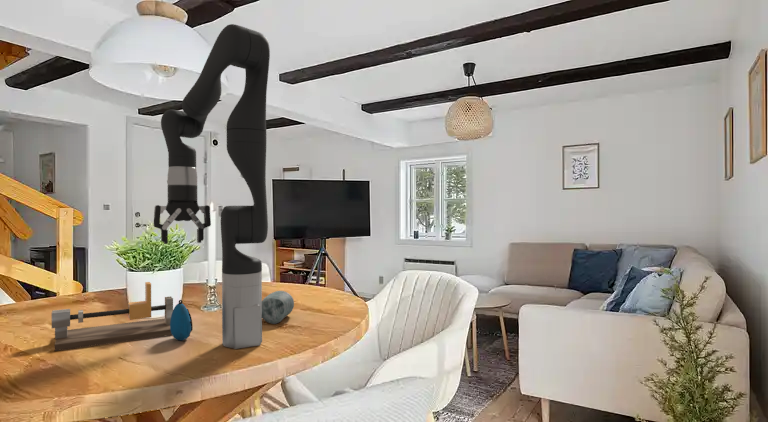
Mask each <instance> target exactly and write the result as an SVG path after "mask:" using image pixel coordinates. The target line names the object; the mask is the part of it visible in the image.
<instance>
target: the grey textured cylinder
mask: <svg viewBox="0 0 768 422" xmlns="http://www.w3.org/2000/svg"><path fill="white" fill-rule="evenodd" d="M294 307H295V301H294V298H293V296H292V295H291V294H290V293H289V292H287V291H284V290H276V291H273V292H271V293H269V294H268V295H266V296H265V297H264V298H262V320H264V321H265V322H266V323H268V324H271V325H277V324H279V323H280V322H282V321H283V320H284V318H286V317H287V316H289V315H290V314H291V313H292V311H293V310H294Z"/></svg>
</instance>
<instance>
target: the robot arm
mask: <svg viewBox="0 0 768 422" xmlns="http://www.w3.org/2000/svg"><path fill="white" fill-rule="evenodd" d="M270 48H271V47H270V42H269V40H268V38H267V37H266V35H264V33H262V32H260V31H257V30H254V29H250V28H248V27H245V26H242V25H238V24H234V23H233V24H232V23H231V24H227V25H226V26H225V27H224V28H223V29H222V30H221V31H220V33H219V34H218V36H217V37H216V39H215V42H214V44H213V46H212V48H211V50H210V52H209V55H208V56H207V59H206V60H205V63H204V65H203V68H202V70H201V72H200V75H199V76H198V78H197V80H196V81H195V83H194V84H193V86H192V87H190V90H189V91H188V92H187V94H186V95H185V96H184V98H183V100H182V102H181V108H182V110H179V109H173V108H172V109H167V110H165V111H164V113H163V114H162V116H161V119H160V127H161V131H162V133H163V137H164V141H165V144H166V149H167V154H168V157H167V161H168V165H167V166H168V170H167V180H166V182H167V204H166V205H159V204H157V205H155V206H154V212H153V213H154V214H153V227H154V228H157V229H160V236H161V237H160V239H161V242H162V243H163V244H164V245H168V244H169V243H168V241H169V240H168V238H169V235H168V234H169V232H168V231H169V230H168V227H170V225H172V223H174V221H176V222H182V221H185V222H189V221H191V222H192V223H194V225H195V226H196V227H197V229H196V241H197V243H198V244H201V243H202V241H204V237H205V235H204V234H205V231H204V230H205V229H206V228H209V227H211V226H212V223H211V222H212V221H211V207H210V205H199V203H198V172H197V151H196V148H194V146H190V145H187V144H186V143H184V142H183V140H182V139H181V138H185V139H186V138H187V139H196V138H197V137H199V136H200V135H201V134H202V132H203V131H204V128H205V124H206V121H207V118H208V116H209V114H210V113H211V112H212V110H213V109H214V108H215V107H216V106H217V104H218V103H219V101H220V99H221V96H222V74H223V72H224V71H225V70H226V69H227V68H229V66H232V67H235V68H238V69H239V68H240V69H244V70H245V79H244V80H245V81H244V83H245V84H244V88H243V92H242V94H241V97H240V98H239V100H238V102H236V104H235V106H234V108H233V109H232V111H231V113H230V115H229V117H228V118H227V122H226V150H227V153H228V157H229V158H230V160H231V161H232V163H233V165H234V166H235V167H236V169H237V170H238V172H239V173H240V175H241V176H242V178H243V179H244V182H245V183H246V185H247V187H248V188H249V191H250V194H251V197H252V201H253V205H226V206H224V207H223V209H221V212H220V213H221V214H220V235H221V238H220V239H221V250H222V251H221V252H222V253H221V254H222V255H221V257H222V258H221V300H222V301H221V319H222V321H221V323H222V325H221V326H222V327H221V328H222V329H221V330H222V332H221V333H222V334H221V336H222V338H221V339H222V342H221V343H222V346H223V347H226V348H231V349H234V350H237V349H246V348H251V347H256V346H257V347H258V346H261V344H262V342H263V319H262V300H263V297H262V296H263V290H262V289H263V286H262V285H263V282H262V281H263V274H262V270H263V269H262V268H263V267H262V266H263V263H262V260H261V259H260V258H257V257H254V256H250V255H248V254H245V253H243V252H242V251H240V250H239V249H237V247H236V245H239V244H240V245H241V244H242V245H243V244H245V245H246V244H261V243H264V242H265V241H266V240H267V238H268V229H269V223H268V222H269V221H268V219H269V217H268V215H269V214H268V203H267V202H268V201H267V182H266V181H267V179H266V177H267V176H266V174H267V173H266V168H267V167H266V166H267V165H266V164H267V91H268V79H269V68H270V61H271V60H270V59H271V57H270V56H271V54H270V53H271V51H270ZM164 211H166V212H167V213H168V214H169V216H168V217H167V218H166V220H165V221H164V222H163V223H162V224H161V214H163V213H164ZM199 211H201V213H202V214H203V223H202V221H200V219H199V217H197V214H198V212H199Z"/></svg>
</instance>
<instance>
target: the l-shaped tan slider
mask: <svg viewBox="0 0 768 422" xmlns="http://www.w3.org/2000/svg"><path fill="white" fill-rule="evenodd" d="M144 285H145V287H144V289H145V291H144V295H145V298H144V300H140V301H130V302H128V305H127V306H128V307H127V309H129V314H127V315H128V319H129V321H131V320H140V319H149V318H152V311H151V306H152V283H151V282H150V281H145V282H144Z"/></svg>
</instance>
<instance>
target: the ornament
mask: <svg viewBox="0 0 768 422" xmlns="http://www.w3.org/2000/svg"><path fill="white" fill-rule="evenodd" d="M193 329H194V328H193V319H192V315H191V313H190V310H189V309H188V308H187V307H186V305H185V304H184V303H183V300H182V299H179V300H178V303H177V304H176V305H175V306H174V307H173V312H172V315H171V320H170V330H171V334H172V335H171V336H172V337H173V339H175V340H176V341H182V342H183V341H184V340H187V339H188V338H189V337H190V336H191V332H193Z"/></svg>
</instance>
